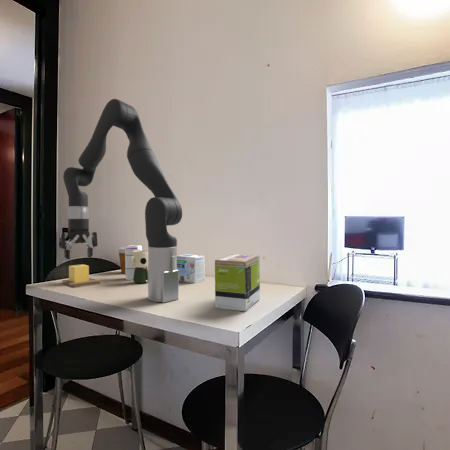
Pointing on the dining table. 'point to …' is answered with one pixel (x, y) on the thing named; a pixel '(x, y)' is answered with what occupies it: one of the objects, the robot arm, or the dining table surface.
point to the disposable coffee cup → (122, 259)
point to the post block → (83, 283)
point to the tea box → (237, 281)
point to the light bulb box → (191, 268)
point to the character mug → (140, 265)
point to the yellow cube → (78, 273)
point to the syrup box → (128, 267)
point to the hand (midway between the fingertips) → (79, 258)
